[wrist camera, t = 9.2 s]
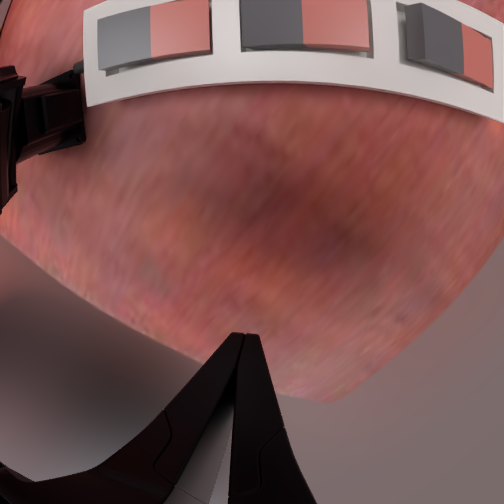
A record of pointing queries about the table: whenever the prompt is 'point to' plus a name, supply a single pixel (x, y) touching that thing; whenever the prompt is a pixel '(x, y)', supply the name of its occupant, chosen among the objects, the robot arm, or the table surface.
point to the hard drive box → (3, 10)
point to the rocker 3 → (448, 45)
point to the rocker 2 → (305, 24)
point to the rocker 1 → (153, 34)
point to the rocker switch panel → (300, 60)
